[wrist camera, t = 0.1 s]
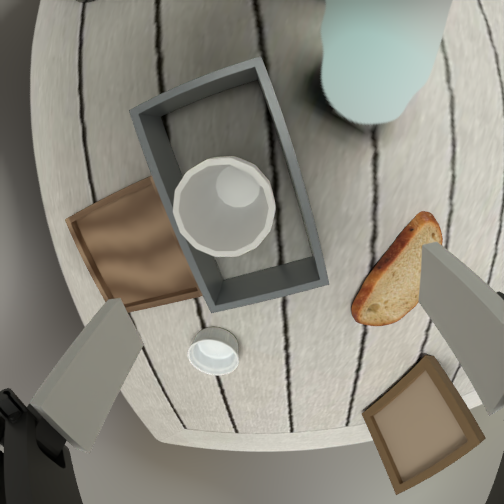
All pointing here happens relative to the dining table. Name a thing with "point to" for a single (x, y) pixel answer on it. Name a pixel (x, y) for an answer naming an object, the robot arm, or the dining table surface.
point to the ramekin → (214, 351)
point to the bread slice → (396, 275)
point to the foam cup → (224, 206)
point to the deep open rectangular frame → (169, 176)
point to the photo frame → (421, 425)
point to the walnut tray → (133, 249)
